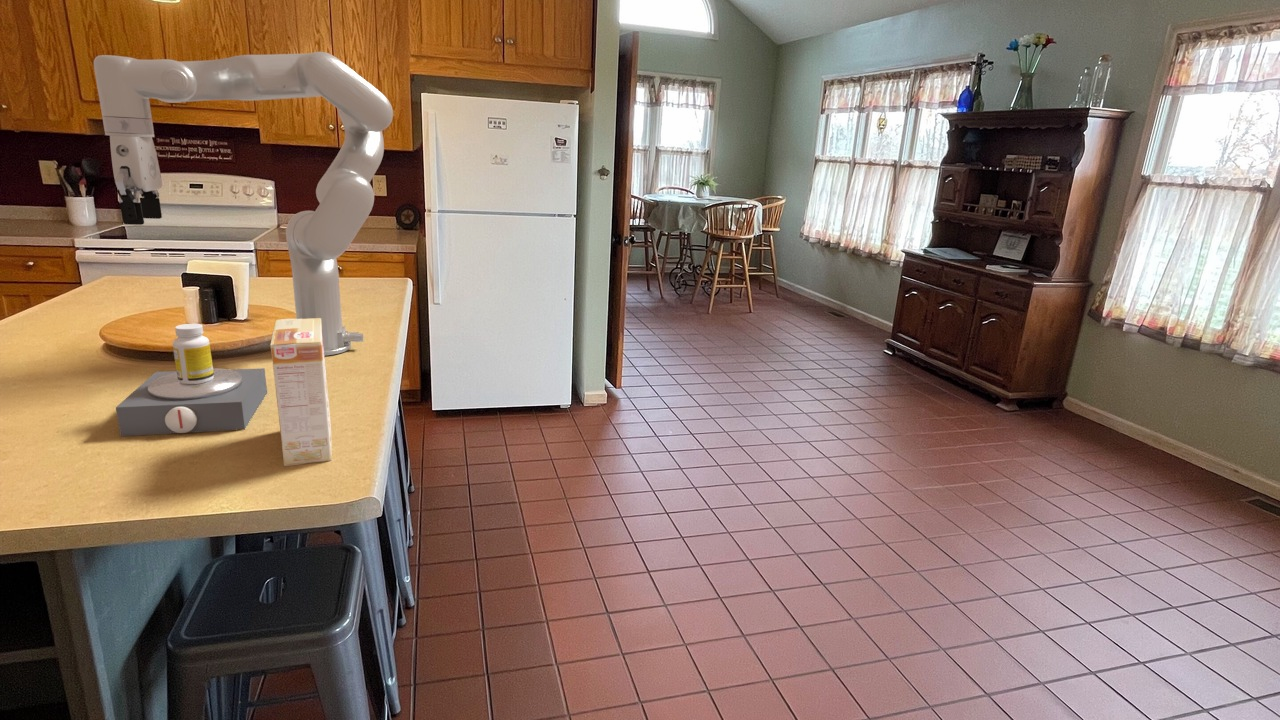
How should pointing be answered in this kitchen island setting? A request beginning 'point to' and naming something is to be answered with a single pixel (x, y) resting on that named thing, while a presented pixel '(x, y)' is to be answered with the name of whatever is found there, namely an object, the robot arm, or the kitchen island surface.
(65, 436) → the kitchen island surface
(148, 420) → the scale base
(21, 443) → the kitchen island surface
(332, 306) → the robot arm
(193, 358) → the supplement bottle
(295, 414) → the coffeecake box
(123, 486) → the kitchen island surface
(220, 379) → the scale pan
